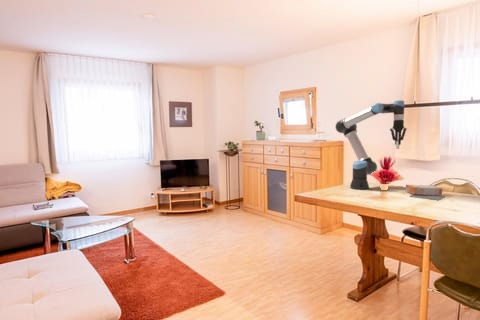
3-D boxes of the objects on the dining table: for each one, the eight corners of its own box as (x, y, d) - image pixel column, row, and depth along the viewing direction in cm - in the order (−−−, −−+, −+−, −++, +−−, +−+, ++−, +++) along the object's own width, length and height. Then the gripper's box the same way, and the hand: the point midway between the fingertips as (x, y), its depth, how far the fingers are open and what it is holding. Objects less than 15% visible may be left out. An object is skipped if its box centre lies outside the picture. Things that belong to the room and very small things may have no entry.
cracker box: (414, 195, 239) (442, 195, 238) (414, 187, 238) (442, 187, 238) (405, 191, 253) (431, 192, 252) (405, 184, 252) (432, 184, 252)
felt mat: (409, 196, 236) (409, 196, 236) (416, 193, 247) (416, 193, 247) (438, 200, 222) (438, 199, 222) (444, 197, 233) (444, 196, 233)
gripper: (388, 120, 259) (387, 148, 261) (405, 119, 250) (404, 149, 252) (392, 120, 264) (391, 148, 266) (408, 119, 255) (407, 148, 257)
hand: (397, 148), depth 259 cm, fingers closed
